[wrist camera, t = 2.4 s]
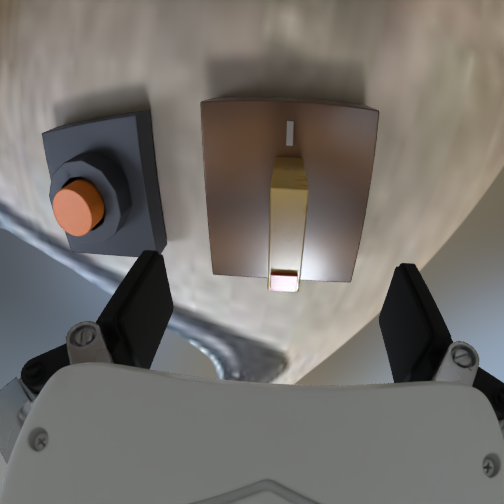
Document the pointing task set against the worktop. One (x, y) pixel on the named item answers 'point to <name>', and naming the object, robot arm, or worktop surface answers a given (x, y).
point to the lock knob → (287, 223)
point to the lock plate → (260, 175)
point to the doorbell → (111, 181)
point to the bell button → (78, 207)
